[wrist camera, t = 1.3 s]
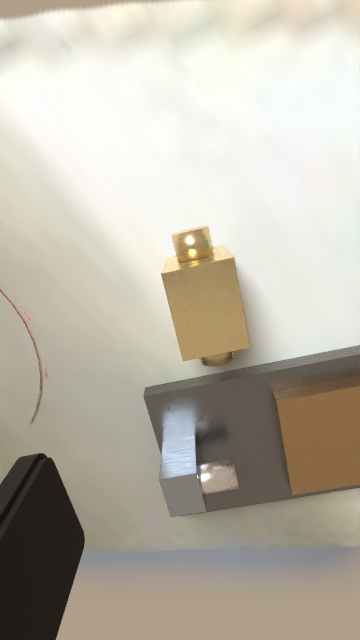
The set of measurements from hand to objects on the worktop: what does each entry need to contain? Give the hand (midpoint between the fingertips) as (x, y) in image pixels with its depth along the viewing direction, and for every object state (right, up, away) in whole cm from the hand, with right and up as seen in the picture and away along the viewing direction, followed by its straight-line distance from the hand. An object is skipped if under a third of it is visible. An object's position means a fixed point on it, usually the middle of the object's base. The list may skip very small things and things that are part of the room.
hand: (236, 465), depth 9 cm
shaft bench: (+12, -6, +23) cm, 26 cm away
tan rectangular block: (0, +6, +19) cm, 20 cm away
